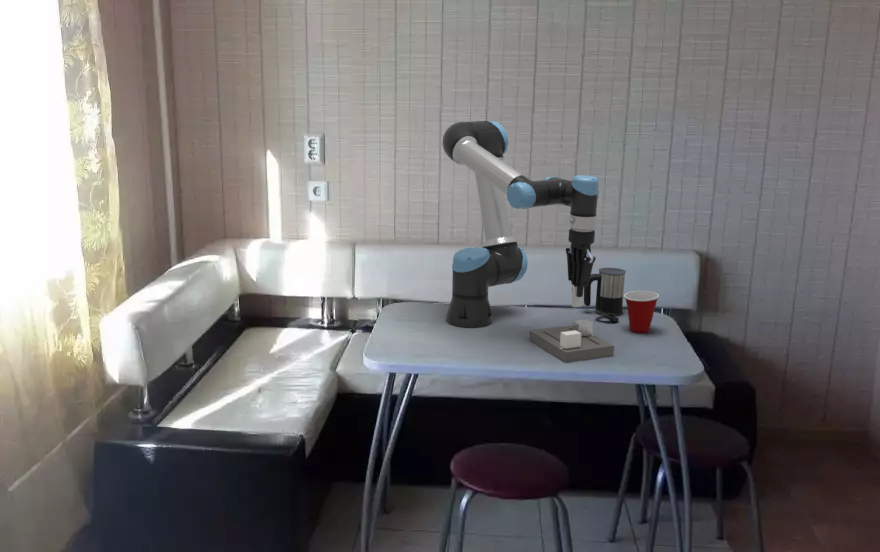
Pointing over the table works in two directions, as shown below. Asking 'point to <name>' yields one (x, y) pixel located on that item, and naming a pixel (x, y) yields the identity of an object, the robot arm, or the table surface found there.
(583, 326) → the fader
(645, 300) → the plastic cup
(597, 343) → the slider panel
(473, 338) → the table surface
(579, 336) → the fader
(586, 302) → the milk frother
